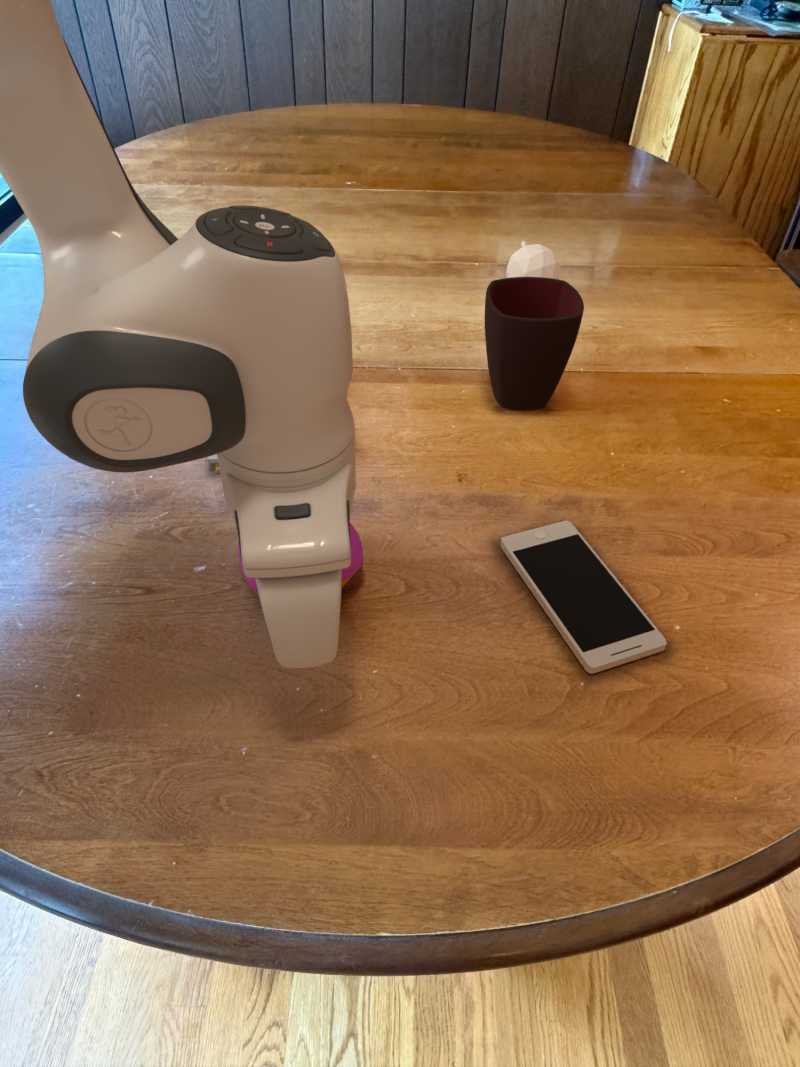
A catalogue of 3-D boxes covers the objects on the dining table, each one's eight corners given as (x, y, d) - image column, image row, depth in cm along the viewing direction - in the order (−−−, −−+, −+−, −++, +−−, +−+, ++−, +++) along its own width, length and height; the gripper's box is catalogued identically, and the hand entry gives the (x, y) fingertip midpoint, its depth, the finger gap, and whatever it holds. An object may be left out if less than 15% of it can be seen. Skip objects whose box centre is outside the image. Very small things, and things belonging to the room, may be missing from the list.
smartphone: (567, 526, 72) (569, 518, 71) (666, 650, 61) (669, 642, 60) (498, 544, 70) (499, 536, 69) (588, 675, 59) (590, 668, 58)
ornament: (509, 310, 103) (490, 250, 101) (523, 307, 109) (506, 251, 108) (559, 291, 99) (541, 229, 98) (571, 289, 106) (554, 231, 104)
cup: (481, 422, 84) (492, 320, 76) (468, 356, 94) (476, 260, 86) (572, 421, 84) (593, 320, 76) (549, 356, 94) (565, 260, 86)
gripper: (238, 385, 58) (257, 522, 67) (242, 581, 43) (266, 721, 53) (322, 379, 59) (330, 515, 68) (354, 569, 44) (358, 710, 53)
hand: (302, 607), depth 60 cm, fingers closed
